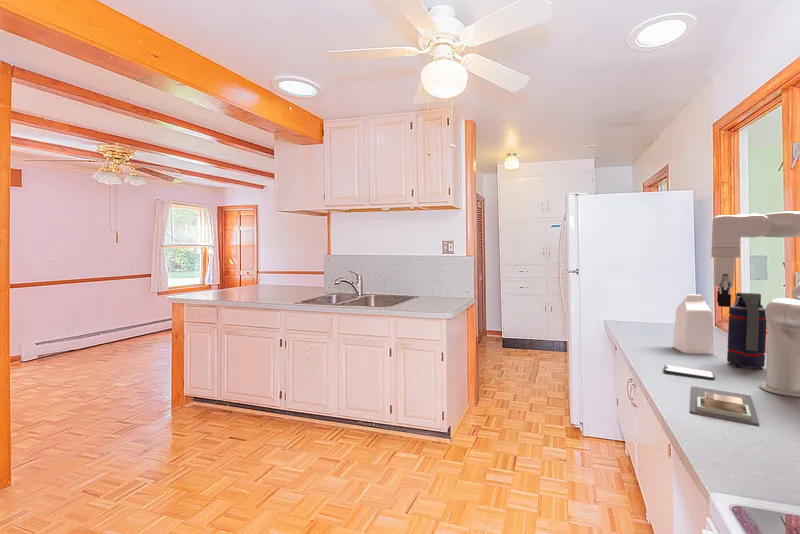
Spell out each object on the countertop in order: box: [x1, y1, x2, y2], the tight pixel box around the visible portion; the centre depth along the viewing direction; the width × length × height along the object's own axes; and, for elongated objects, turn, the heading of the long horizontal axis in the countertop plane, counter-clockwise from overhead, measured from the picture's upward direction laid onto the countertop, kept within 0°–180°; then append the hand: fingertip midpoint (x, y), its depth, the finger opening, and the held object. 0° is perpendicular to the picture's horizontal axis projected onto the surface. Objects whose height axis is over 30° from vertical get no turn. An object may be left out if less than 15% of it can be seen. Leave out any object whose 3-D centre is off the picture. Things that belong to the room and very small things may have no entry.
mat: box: [689, 385, 760, 427], centre depth 134 cm, size 26×16×1 cm, turn 145°
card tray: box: [697, 397, 751, 420], centre depth 129 cm, size 13×10×1 cm
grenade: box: [726, 292, 767, 371], centre depth 173 cm, size 14×12×30 cm
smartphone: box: [663, 364, 716, 381], centre depth 165 cm, size 9×2×16 cm
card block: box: [705, 392, 743, 414], centre depth 129 cm, size 9×6×4 cm, turn 55°
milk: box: [672, 294, 715, 355], centre depth 198 cm, size 12×12×26 cm
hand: (723, 304), depth 142 cm, fingers open, 9 cm apart
